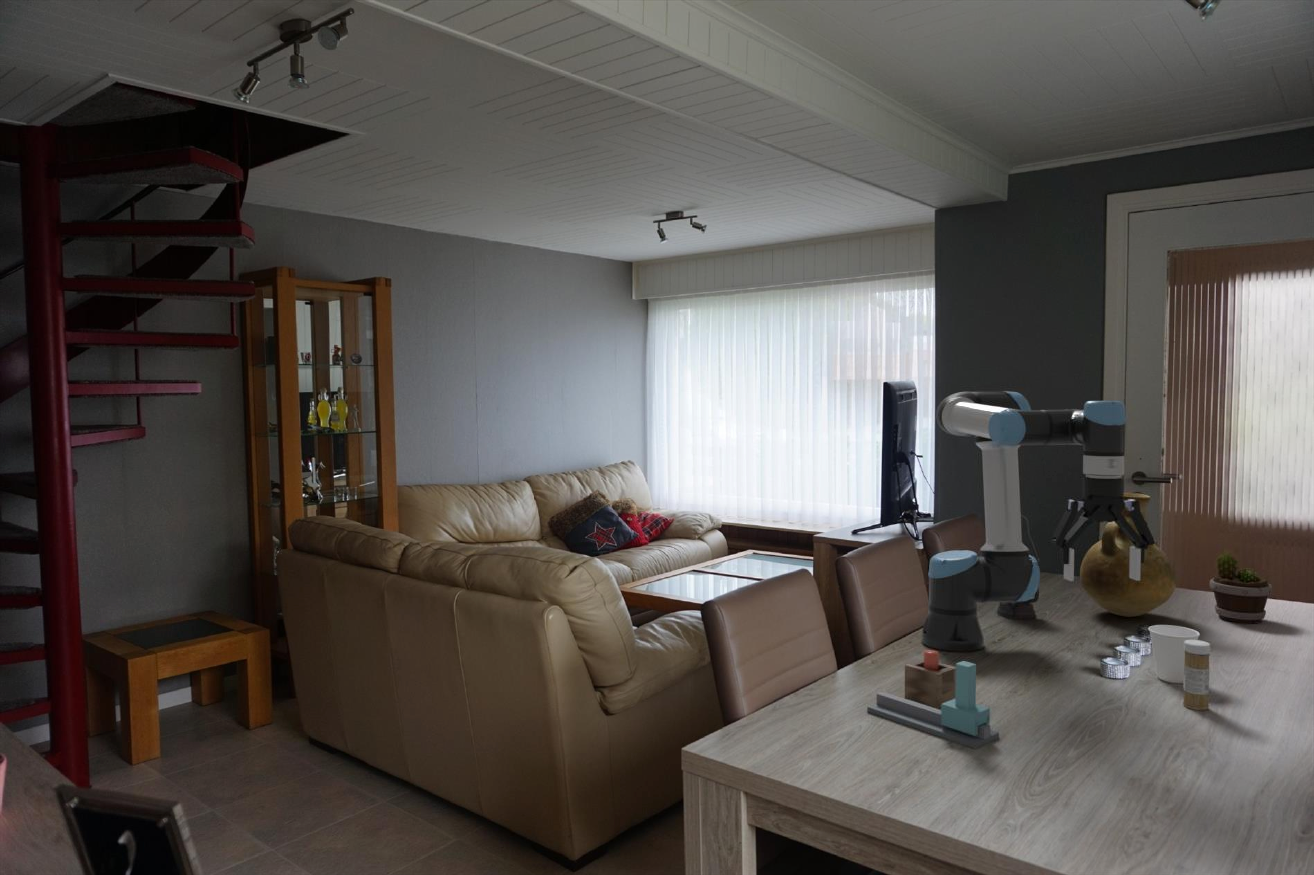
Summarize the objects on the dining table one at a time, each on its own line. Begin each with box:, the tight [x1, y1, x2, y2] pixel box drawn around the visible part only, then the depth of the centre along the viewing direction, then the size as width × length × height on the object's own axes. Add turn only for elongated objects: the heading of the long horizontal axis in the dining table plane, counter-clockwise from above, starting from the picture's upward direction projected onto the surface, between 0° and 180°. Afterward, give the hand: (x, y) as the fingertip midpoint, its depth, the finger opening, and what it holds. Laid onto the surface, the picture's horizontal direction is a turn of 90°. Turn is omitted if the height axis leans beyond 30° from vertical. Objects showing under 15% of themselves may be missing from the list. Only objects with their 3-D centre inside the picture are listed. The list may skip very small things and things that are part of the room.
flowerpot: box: [1209, 549, 1273, 624], centre depth 243 cm, size 14×15×20 cm
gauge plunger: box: [923, 649, 940, 671], centre depth 182 cm, size 3×3×4 cm
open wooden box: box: [904, 658, 956, 709], centre depth 183 cm, size 8×7×7 cm
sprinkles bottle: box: [1182, 639, 1211, 711], centre depth 177 cm, size 5×5×13 cm
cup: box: [1147, 624, 1201, 684], centre depth 194 cm, size 10×10×11 cm
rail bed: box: [866, 691, 1000, 750], centre depth 169 cm, size 24×8×3 cm, turn 39°
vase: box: [1079, 492, 1177, 618], centre depth 248 cm, size 24×24×35 cm
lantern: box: [995, 514, 1041, 620], centre depth 251 cm, size 12×11×30 cm
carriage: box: [940, 660, 991, 736], centre depth 163 cm, size 7×5×12 cm
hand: (1101, 579), depth 178 cm, fingers open, 13 cm apart
